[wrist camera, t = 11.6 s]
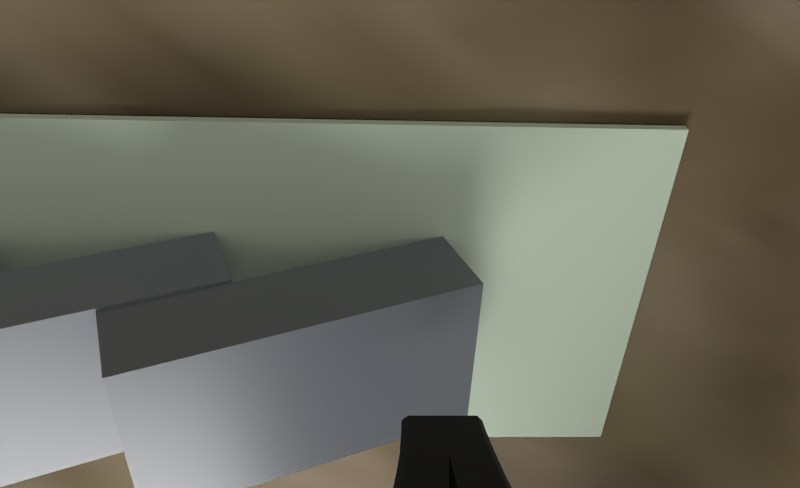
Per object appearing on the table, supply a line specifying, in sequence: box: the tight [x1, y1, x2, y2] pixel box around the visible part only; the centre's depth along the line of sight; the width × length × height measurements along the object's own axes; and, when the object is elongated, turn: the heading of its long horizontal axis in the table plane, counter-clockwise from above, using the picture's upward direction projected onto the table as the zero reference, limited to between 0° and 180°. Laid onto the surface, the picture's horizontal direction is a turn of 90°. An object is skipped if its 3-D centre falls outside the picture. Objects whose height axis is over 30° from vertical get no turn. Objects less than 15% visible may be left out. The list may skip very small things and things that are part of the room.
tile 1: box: [96, 237, 484, 488], centre depth 14 cm, size 2×4×7 cm
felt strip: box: [0, 114, 689, 437], centre depth 16 cm, size 9×26×1 cm, turn 88°
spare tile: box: [0, 232, 232, 487], centre depth 14 cm, size 2×4×7 cm
